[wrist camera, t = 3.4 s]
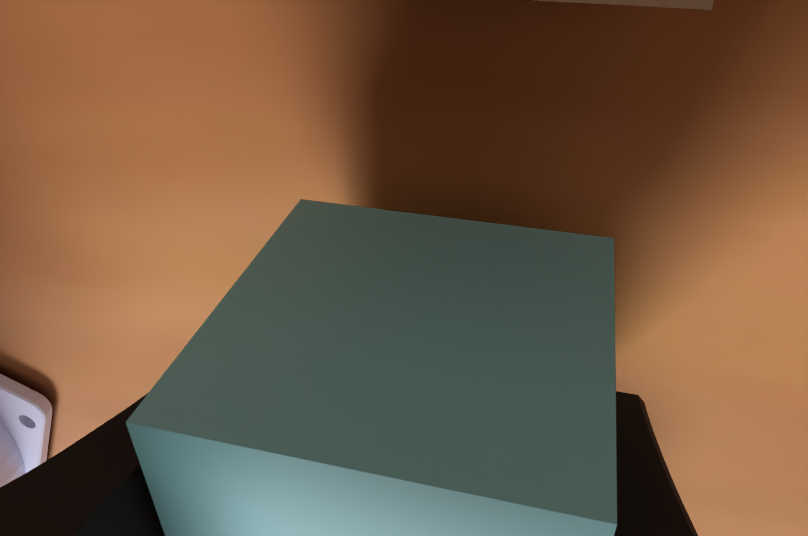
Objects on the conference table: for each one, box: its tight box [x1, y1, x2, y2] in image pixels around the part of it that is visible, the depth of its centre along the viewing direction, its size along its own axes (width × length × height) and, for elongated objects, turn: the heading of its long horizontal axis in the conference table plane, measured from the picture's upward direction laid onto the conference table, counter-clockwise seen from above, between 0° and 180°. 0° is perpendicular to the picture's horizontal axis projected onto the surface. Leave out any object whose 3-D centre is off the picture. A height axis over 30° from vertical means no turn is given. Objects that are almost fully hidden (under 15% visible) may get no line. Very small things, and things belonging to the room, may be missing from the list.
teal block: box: [126, 199, 617, 536], centre depth 10 cm, size 5×5×5 cm
